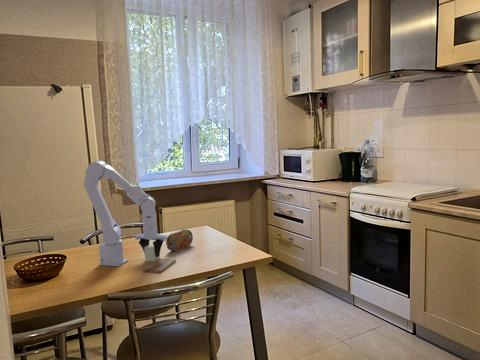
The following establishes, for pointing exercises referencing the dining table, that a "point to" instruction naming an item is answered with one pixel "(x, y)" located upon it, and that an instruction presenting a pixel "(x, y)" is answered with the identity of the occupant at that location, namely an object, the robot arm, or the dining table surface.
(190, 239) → the tin
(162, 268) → the board
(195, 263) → the dining table surface
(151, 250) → the block
